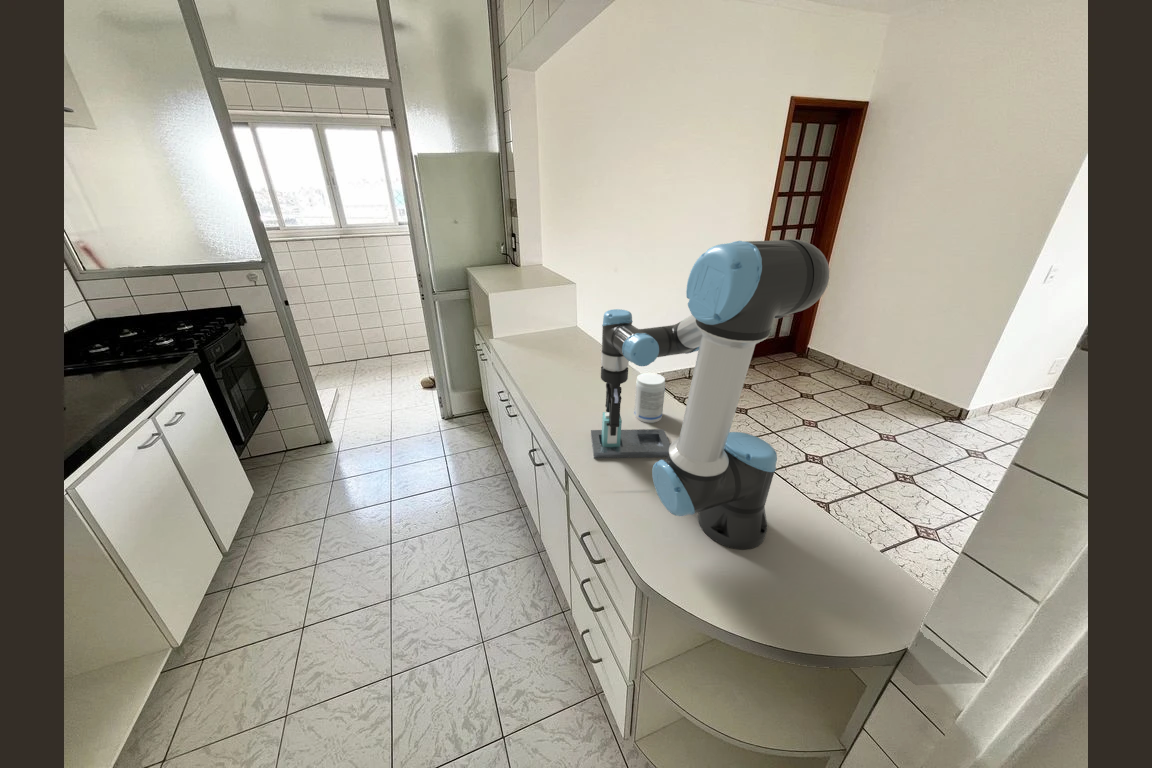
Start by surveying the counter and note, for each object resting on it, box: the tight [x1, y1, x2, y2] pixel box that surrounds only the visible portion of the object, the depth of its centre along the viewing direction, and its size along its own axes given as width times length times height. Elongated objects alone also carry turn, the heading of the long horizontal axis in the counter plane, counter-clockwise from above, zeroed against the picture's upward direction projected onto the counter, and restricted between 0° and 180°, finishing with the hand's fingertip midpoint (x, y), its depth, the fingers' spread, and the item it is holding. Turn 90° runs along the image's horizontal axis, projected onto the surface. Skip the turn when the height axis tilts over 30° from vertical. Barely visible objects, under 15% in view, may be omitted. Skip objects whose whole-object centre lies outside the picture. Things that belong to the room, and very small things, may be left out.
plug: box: [601, 411, 623, 447], centre depth 122 cm, size 5×5×11 cm
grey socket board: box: [590, 428, 671, 459], centre depth 124 cm, size 12×23×2 cm, turn 92°
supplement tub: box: [633, 372, 666, 424], centre depth 138 cm, size 10×10×15 cm
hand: (610, 437), depth 123 cm, fingers closed on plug, 5 cm apart
